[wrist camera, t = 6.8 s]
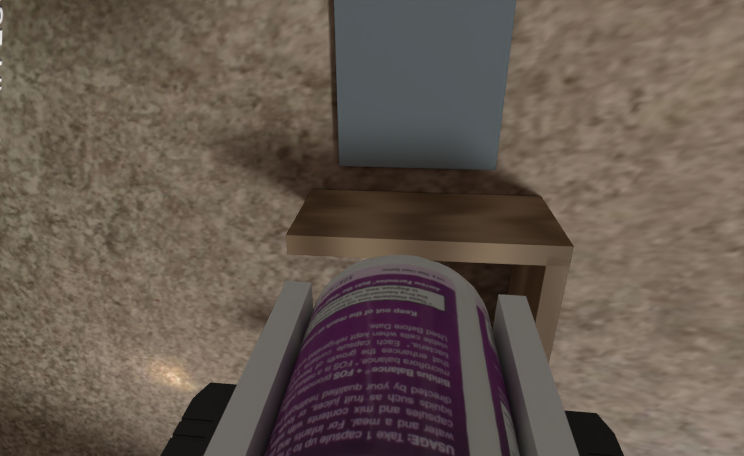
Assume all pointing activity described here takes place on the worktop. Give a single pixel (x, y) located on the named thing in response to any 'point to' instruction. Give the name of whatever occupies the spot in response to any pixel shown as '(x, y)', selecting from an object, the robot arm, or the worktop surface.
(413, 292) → the pill bottle
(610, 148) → the worktop surface
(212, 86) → the worktop surface
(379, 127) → the mat
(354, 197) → the nook
